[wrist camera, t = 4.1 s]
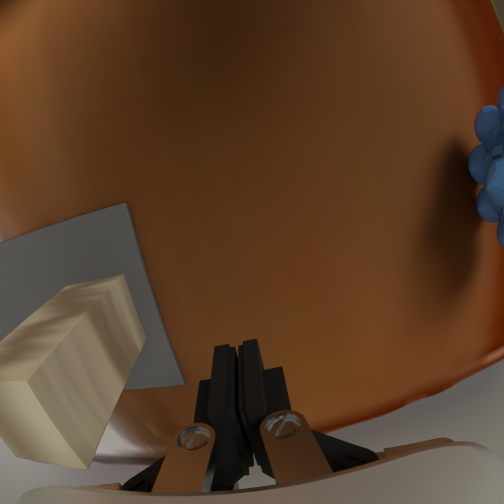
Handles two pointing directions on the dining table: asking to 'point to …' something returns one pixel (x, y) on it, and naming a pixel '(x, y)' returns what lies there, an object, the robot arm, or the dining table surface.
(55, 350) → the birch block
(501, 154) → the grapes
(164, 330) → the rubber mat
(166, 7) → the dining table surface
